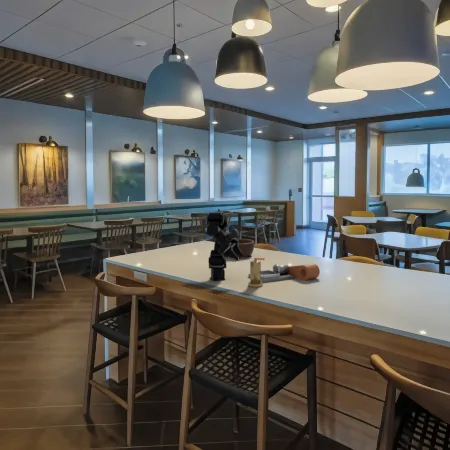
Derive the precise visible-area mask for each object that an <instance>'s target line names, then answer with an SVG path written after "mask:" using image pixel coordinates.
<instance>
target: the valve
mask: <svg viewBox="0 0 450 450" xmlns="http://www.w3.org/2000/svg"><path fill="white" fill-rule="evenodd" d="M265 260H266V259H265V257H254V259H253V260H251V261H250V263H249V264H250V266H249V267H250V272H249V274H250V277H249V278H250V279H249V280H250V281H249V282H248V283H247V284H248V285H247V286H248V287H250V288H262V287H263V286H264V283H262V282H261V271H262V262H261V261H265Z"/></svg>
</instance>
